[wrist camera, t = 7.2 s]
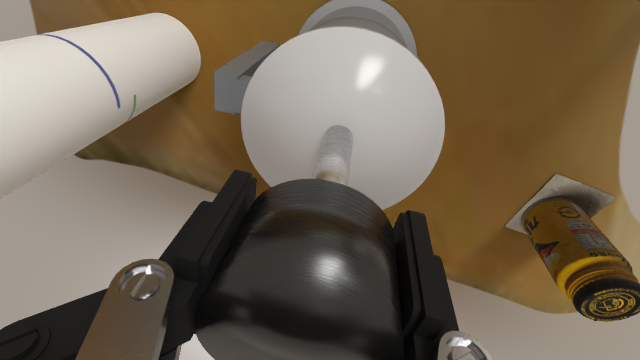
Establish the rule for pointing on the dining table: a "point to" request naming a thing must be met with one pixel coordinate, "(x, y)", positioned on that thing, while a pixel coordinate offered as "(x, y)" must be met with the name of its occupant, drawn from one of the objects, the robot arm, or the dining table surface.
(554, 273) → the condiment
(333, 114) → the press housing
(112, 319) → the robot arm
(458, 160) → the dining table surface
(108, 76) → the cylindrical container
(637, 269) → the dining table surface
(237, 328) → the plunger
